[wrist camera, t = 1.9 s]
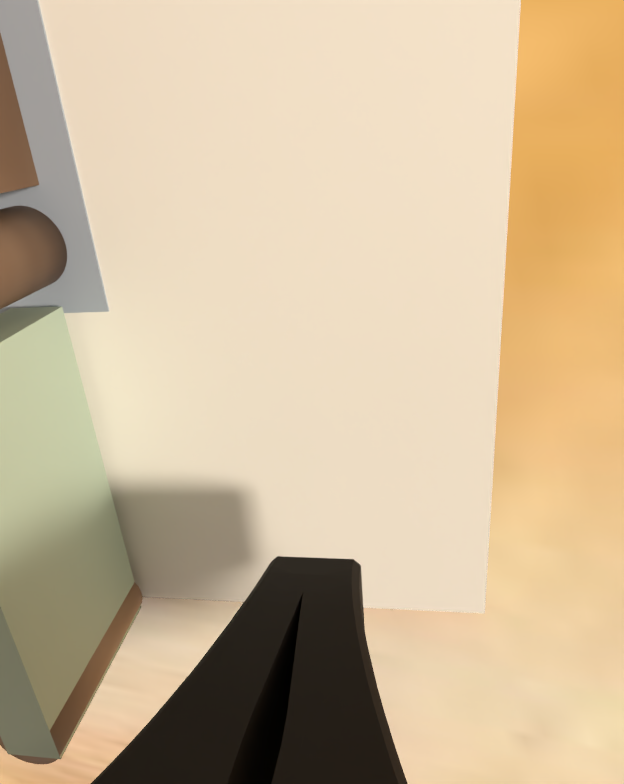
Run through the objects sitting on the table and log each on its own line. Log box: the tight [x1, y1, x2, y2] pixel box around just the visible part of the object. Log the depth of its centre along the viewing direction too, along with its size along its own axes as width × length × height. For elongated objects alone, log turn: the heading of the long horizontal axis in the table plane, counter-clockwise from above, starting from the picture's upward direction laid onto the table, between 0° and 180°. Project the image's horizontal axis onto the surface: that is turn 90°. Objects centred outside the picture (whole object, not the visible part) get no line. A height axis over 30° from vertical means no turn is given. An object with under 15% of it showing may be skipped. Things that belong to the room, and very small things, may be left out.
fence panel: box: [0, 306, 142, 764], centre depth 11 cm, size 7×1×4 cm, turn 4°
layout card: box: [0, 0, 521, 613], centre depth 11 cm, size 16×17×1 cm
